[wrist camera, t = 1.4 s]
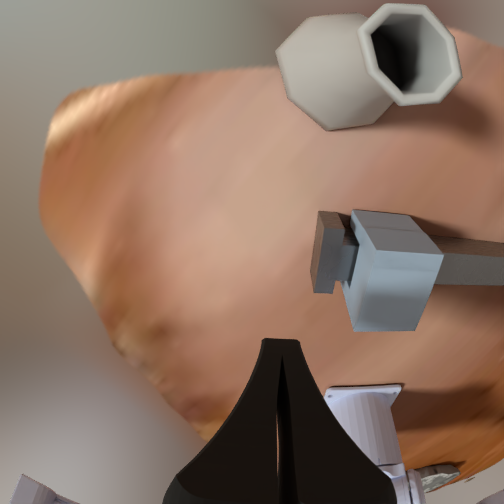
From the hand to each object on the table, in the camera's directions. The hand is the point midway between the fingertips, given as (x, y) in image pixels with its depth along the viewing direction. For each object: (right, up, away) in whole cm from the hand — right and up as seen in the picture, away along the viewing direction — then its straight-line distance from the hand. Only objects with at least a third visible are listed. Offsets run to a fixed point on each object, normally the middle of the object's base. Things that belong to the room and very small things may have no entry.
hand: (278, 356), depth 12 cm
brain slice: (+32, -42, +33) cm, 62 cm away
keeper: (+7, +4, +8) cm, 12 cm away
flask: (+4, +14, +3) cm, 15 cm away
